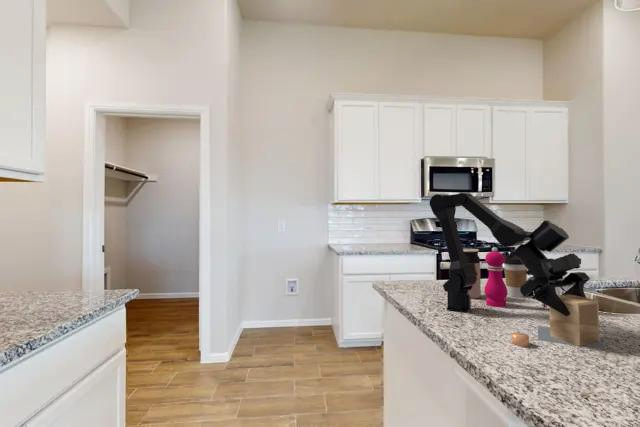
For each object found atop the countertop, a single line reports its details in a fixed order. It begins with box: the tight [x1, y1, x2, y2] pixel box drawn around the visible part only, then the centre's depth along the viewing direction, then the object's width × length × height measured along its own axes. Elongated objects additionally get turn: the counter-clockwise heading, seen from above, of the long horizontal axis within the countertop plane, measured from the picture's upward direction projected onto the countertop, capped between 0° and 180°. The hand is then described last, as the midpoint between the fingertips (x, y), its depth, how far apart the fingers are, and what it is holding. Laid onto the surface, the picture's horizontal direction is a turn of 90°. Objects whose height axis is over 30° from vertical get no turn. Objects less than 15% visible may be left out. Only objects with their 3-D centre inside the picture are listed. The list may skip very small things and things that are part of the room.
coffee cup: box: [503, 254, 528, 298], centre depth 129 cm, size 8×8×15 cm
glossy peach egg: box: [511, 331, 530, 348], centre depth 81 cm, size 4×4×2 cm
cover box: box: [549, 294, 600, 347], centre depth 83 cm, size 7×7×10 cm
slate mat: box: [537, 325, 607, 351], centre depth 84 cm, size 13×12×1 cm
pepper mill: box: [484, 246, 509, 308], centre depth 117 cm, size 7×7×20 cm
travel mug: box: [463, 248, 482, 300], centre depth 129 cm, size 8×8×18 cm
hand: (579, 313), depth 82 cm, fingers closed on cover box, 7 cm apart
